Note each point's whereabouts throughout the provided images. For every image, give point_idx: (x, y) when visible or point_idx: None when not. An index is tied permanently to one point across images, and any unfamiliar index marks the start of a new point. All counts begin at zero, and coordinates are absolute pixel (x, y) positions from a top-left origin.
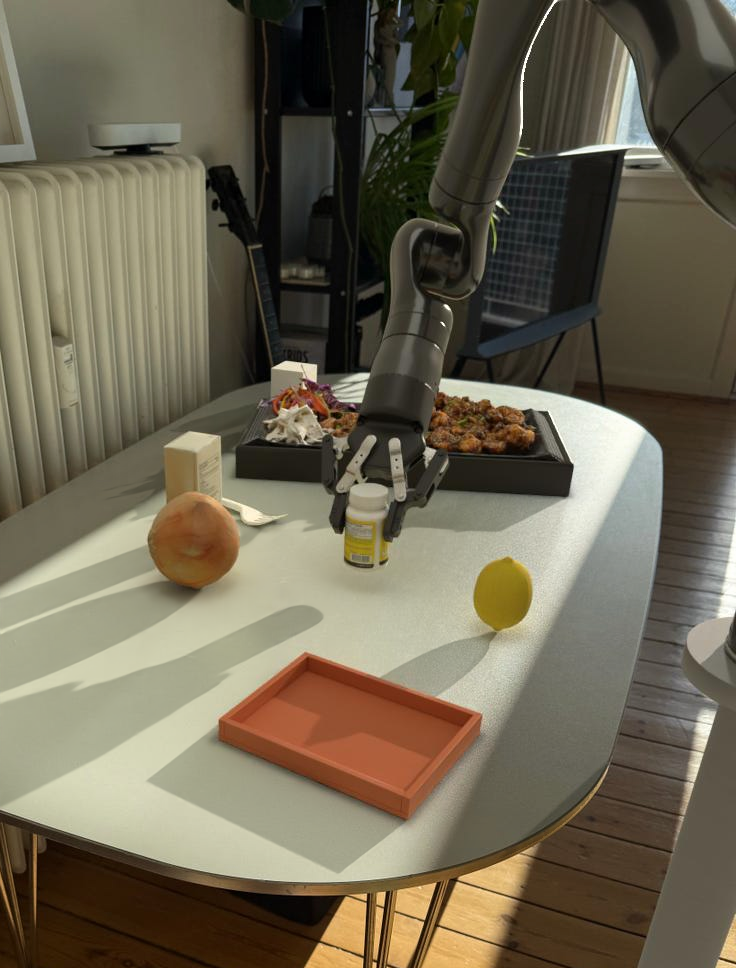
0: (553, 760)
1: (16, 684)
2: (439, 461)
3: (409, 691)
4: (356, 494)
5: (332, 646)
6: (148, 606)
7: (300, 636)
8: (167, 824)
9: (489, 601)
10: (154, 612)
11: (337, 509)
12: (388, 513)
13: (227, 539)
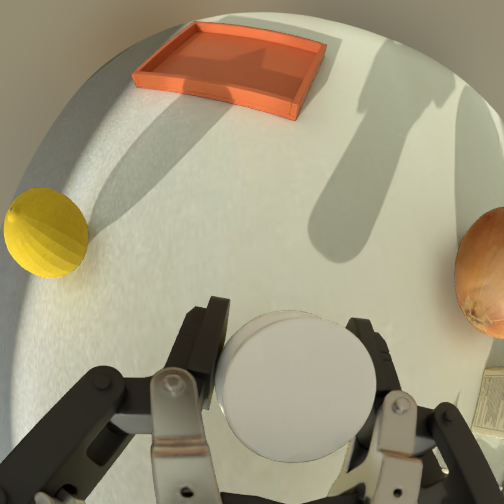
0: (98, 85)
1: (459, 109)
2: (9, 470)
3: (186, 76)
4: (347, 330)
5: (277, 165)
6: (475, 218)
7: (322, 179)
8: (315, 24)
9: (66, 196)
10: (466, 207)
11: (377, 349)
12: (217, 340)
13: (487, 240)
